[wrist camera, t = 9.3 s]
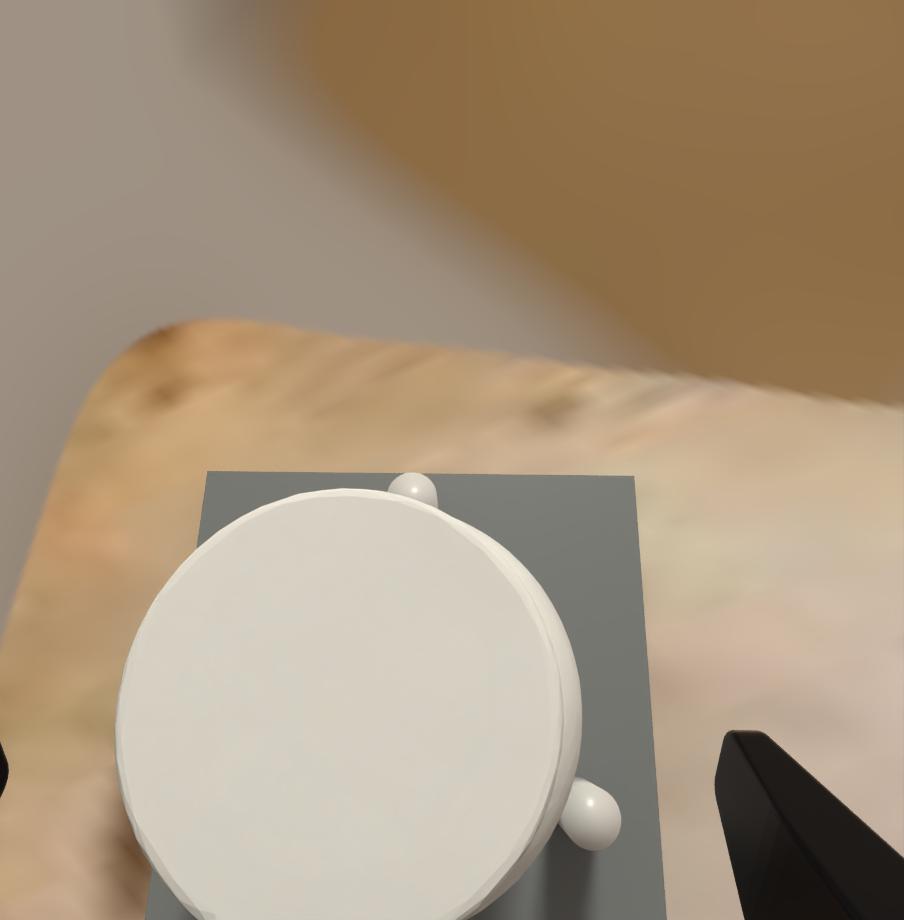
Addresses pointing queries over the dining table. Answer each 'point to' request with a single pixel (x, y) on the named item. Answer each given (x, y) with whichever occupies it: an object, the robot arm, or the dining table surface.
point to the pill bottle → (347, 716)
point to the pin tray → (595, 651)
